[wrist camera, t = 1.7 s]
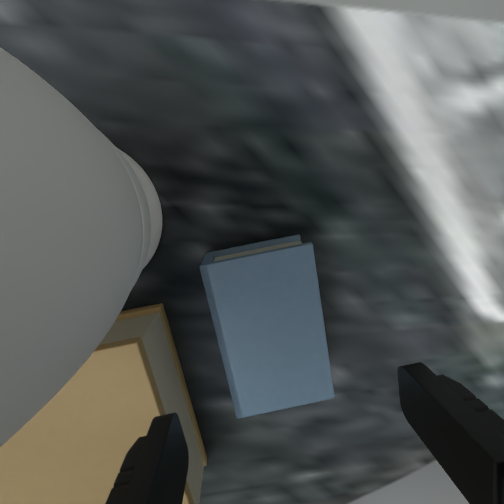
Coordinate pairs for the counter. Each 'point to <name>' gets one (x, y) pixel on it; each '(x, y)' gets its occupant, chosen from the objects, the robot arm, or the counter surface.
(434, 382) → the robot arm
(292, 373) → the pocket book
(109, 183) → the jar
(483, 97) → the counter surface
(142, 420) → the big book
